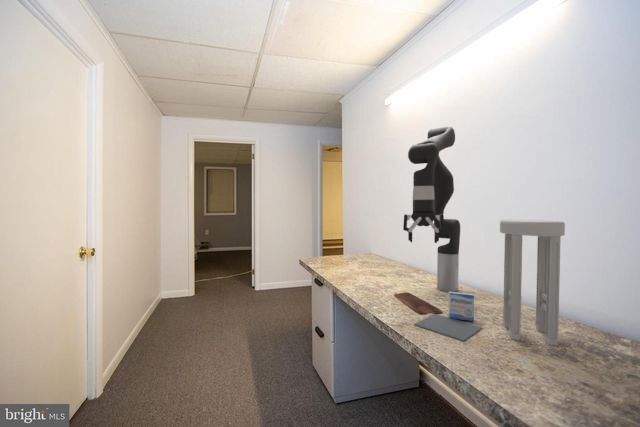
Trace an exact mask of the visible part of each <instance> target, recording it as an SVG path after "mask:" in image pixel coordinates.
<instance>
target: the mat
mask: <svg viewBox="0 0 640 427" xmlns="http://www.w3.org/2000/svg"><path fill="white" fill-rule="evenodd" d="M414 326H415V327H419V328H422V329H425V330H427V331H431V332H434V333H436V334H440V335H442V336H445V337H448V338H451V339H455V340H458V341H460V342H463V343H464V342H467V340H468V339H470V338H471V337H473V336H474V335H475V334H477V333H478V332H480V331H481V330H482V329H483V327H482V326H478V325H476V324H472V323H468V322H466V321H465V322H464V321H463V320H460V319H452V318H449V316H448V317H447V316H443V315H441V314H431V315H429V316H427V317H426V318H423V319H422V320H419V321H417V322H415V323H414Z"/></svg>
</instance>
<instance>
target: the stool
mask: <svg viewBox="0 0 640 427" xmlns="http://www.w3.org/2000/svg"><path fill="white" fill-rule="evenodd" d="M565 230H566V224H565V222H564V221H561V220H560V221H559V220H548V219H547V220H546V219H502V220H500V221H499V233H501V234H504V258H503V260H504V261H503V262H504V265H503V267H504V268H503V306H502V307H503V308H502V311H503V315H502V316H503V317H502V320H503V321H502V322H503V323H502V324H503V327H504V328H507V329H509V338H510V340H514V341H515V340H517V341H521V328H522V327H521V326H522V325H521V321H522V318H521V316H522V280H523V279H522V278H523V277H522V274H523V273H522V272H523V236H526V237H527V236H529V237H530V236H531V237H537V245H536V247H537V248H536V249H537V252H536V254H537V255H536V256H537V257H536V258H537V259H536V293H535V294H536V302H535V330H536V332H538V333H545V342H546V343H547V345H549V346H550V345H551V346H559V317H560V315H559V314H560V281H561V280H560V279H561V278H560V274H561V272H560V270H561V237H562V236H565V233H566V232H565Z"/></svg>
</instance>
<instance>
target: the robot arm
mask: <svg viewBox="0 0 640 427" xmlns="http://www.w3.org/2000/svg"><path fill="white" fill-rule="evenodd" d="M455 141H456V132H455V129H454V128H453V127H452V126H442V127H437V128H436V127H435V128H431V129H429V130H428V132H427V139H425V140H424V141H422V142H419V143H418V142H417V143H415V144H413V145H411V147H410V148H409V150H408V153H407V158H408V160H409V162H411V163H412V164H414V165H420V164H426V165H425V167H424V168H421V169H417V170H415V171H414V172H413V178H412V179H413V181H412V182H413V183H412V184H413V187H412V188H413V189H412V214H404V215H403V228H402V229H403V231H405V232H408V236H407V237H408V242H410V243H413V230H414V229H415V228H416V227H417V226H418V227H423V226H424V227H429V226H431V228H432V229H433V231H434V244H437V243H438V242H439V241H440V239H449V242H447V243H446V244H444V245H443V244H442V245H439V246H438V247H437V261H436V262H437V263H436V264H437V265H436V266H437V267H436V268H437V269H436V270H437V271H436V272H437V274H436V277H437V278H436V288H437V290H439V291H442V292H448V293H449V292H458V291H459V270H460V269H459V268H460V267H459V266H460V264H459V262H460V258H459V257H460V254H459V253H460V242H461V241H460V239H461V238H460V237H461V223H460V221H459V219H456V218H455V219H453V218H445V217H444V214H445V212H444V211H445V209H446V206H447V204H449V202H450V199H452V196H453V194H454V192H455V186H454V176H453V174H452V173H451V171H450V169H449V168H448V167H447V166H446V165H445V163H444V162H443V161H442V159H441V157H440V152H441V151H443V150H445V149H447V148H451V147H453V146H454V145H455ZM410 219H411V220H412V221H413V223H412V224H411V226H409V227H408V221H409V220H410Z"/></svg>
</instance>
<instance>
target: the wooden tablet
mask: <svg viewBox="0 0 640 427" xmlns="http://www.w3.org/2000/svg"><path fill="white" fill-rule="evenodd" d="M393 294H394V295H393V296H394V297H395V298H396V299H397V300H398V301H400V302H401V303H403V304H405V305H406V306H407V307H408V308H410V309H411V310H412V311H413V312H414V313H417V314H418V315H420V316H421V315H422V316H424V315H429V314H431V315H433V314H438V315H441V314H443V313H444V312H443V310H441V309H440V308H439V307H436V306H435V305H433V304H431V303H429V302H428V301H426V300H424V299H422V298H420V297H419V296H416V295H414V294H413V293H412V292H411V293H410V292H401V293H393Z"/></svg>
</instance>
